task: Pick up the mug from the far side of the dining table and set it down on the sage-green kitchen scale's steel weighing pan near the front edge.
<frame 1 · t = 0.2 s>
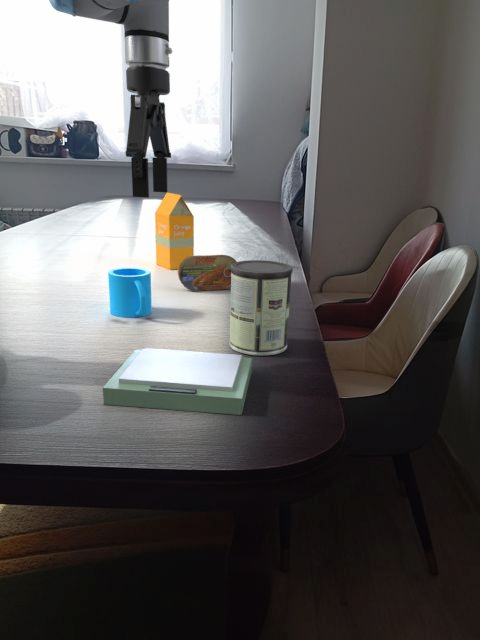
hand: (151, 194, 98), 23 cm above the table, tool pointing down, fingers open, 13 cm apart
orange juice: (174, 266, 148), on the table
coffee can: (257, 346, 90), on the table
mug: (134, 315, 103), on the table
scale: (183, 387, 73), on the table
tin: (208, 289, 125), on the table
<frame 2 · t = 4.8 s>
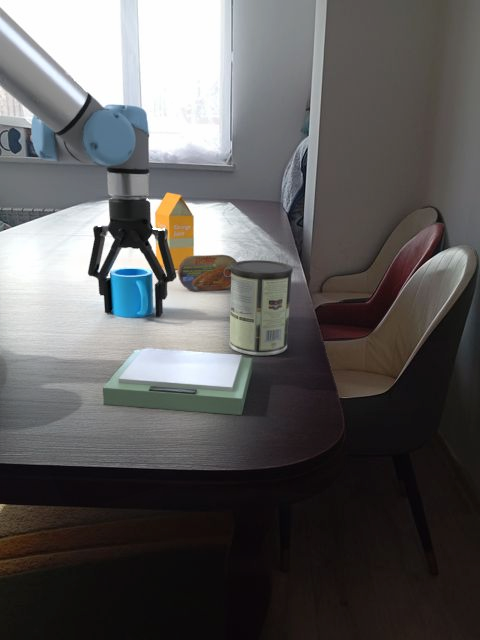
hand: (134, 312, 103), 0 cm above the table, tool pointing down, fingers open, 9 cm apart
mug: (136, 315, 103), on the table, touching gripper
everything else where it was.
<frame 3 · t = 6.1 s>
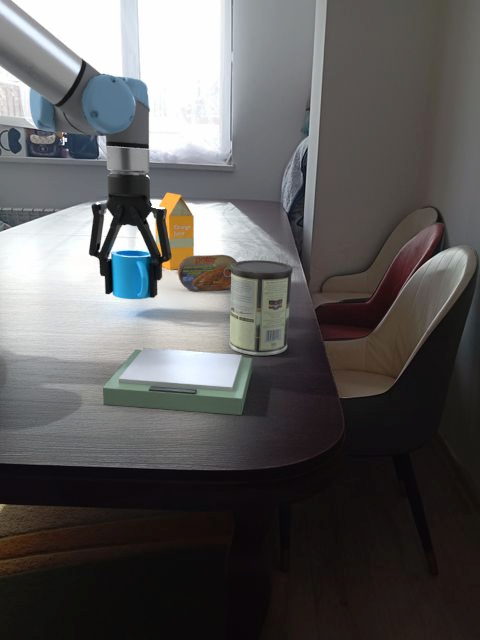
hand: (131, 294, 102), 4 cm above the table, tool pointing down, fingers closed on mug, 8 cm apart
mug: (136, 297, 101), point 4 cm above the table, touching gripper
everything else where it was.
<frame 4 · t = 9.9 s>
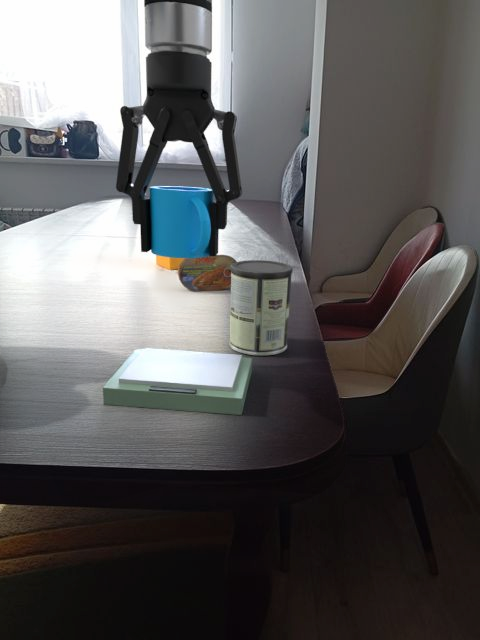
hand: (180, 252, 67), 19 cm above the table, tool pointing down, fingers closed on mug, 8 cm apart
mug: (188, 256, 67), point 18 cm above the table, touching gripper
everything else where it was.
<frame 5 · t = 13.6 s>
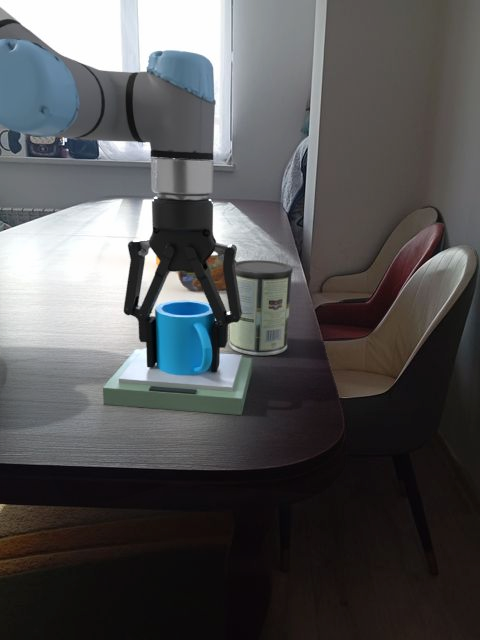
hand: (183, 365, 71), 3 cm above the table, tool pointing down, fingers closed on mug, 8 cm apart
mug: (191, 369, 71), point 3 cm above the table, touching gripper, scale
everything else where it was.
when the fingers open (3 cm above the table, at t = 13.8 s): mug stays where it is, resting on scale.
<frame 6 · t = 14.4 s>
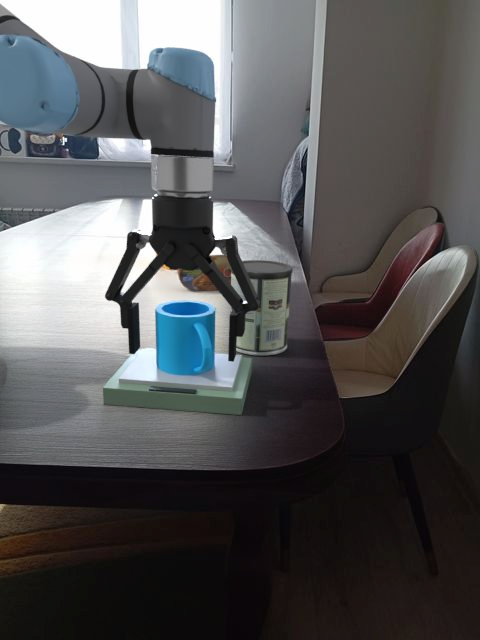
hand: (183, 354, 71), 5 cm above the table, tool pointing down, fingers open, 13 cm apart
mug: (191, 370, 71), point 3 cm above the table, touching scale
everything else where it was.
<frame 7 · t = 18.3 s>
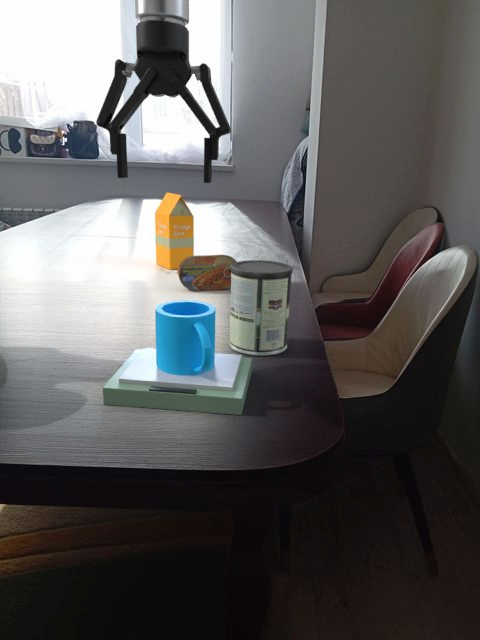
hand: (165, 180, 81), 27 cm above the table, tool pointing down, fingers open, 13 cm apart
nothing on the table moved.
at the end: mug inside the target area on the scale (1.2 cm from its centre), point 2.8 cm above the scale's base; mug tilted 0°; the gripper is holding nothing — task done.
